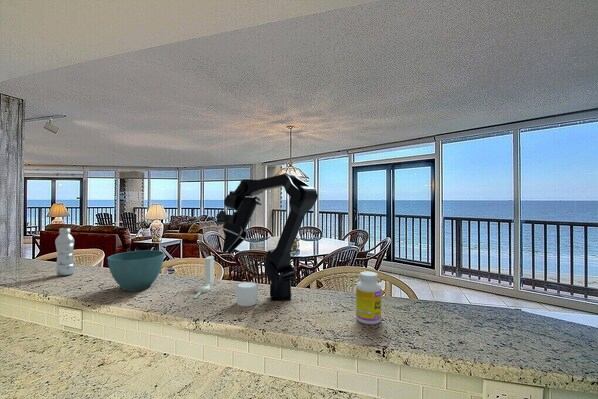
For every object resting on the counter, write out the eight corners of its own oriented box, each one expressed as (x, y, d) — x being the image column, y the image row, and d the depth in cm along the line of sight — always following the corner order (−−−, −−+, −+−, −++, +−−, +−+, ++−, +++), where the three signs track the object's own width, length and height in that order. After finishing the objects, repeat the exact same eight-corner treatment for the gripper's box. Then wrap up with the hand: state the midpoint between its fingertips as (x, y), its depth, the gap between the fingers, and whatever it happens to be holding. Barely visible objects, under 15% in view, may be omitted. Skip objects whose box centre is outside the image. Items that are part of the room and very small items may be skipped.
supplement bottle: (376, 327, 77) (376, 278, 77) (352, 321, 80) (352, 274, 80) (384, 318, 82) (384, 272, 82) (361, 313, 86) (361, 269, 86)
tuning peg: (217, 282, 111) (217, 256, 110) (202, 298, 93) (202, 267, 93) (204, 282, 111) (204, 256, 110) (186, 298, 93) (186, 267, 93)
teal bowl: (132, 299, 98) (132, 261, 97) (95, 292, 104) (95, 257, 104) (174, 283, 114) (174, 252, 114) (140, 278, 121) (140, 248, 121)
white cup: (246, 313, 86) (246, 289, 85) (230, 308, 90) (230, 285, 90) (262, 306, 91) (263, 284, 91) (247, 301, 95) (247, 280, 95)
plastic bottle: (67, 277, 123) (66, 229, 123) (51, 277, 123) (50, 229, 123) (79, 273, 130) (78, 227, 129) (63, 273, 130) (63, 227, 129)
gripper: (228, 209, 118) (211, 245, 114) (218, 199, 100) (198, 242, 96) (254, 219, 117) (238, 256, 114) (249, 211, 99) (229, 255, 96)
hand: (226, 252), depth 105 cm, fingers open, 9 cm apart
